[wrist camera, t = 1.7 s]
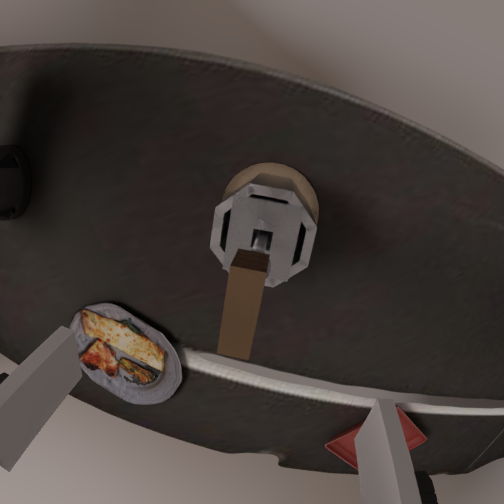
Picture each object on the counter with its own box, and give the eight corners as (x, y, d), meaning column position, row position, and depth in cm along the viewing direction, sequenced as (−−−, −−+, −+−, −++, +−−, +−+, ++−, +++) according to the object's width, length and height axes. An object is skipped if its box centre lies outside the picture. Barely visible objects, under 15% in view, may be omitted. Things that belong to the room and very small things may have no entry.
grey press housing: (214, 253, 50) (187, 295, 36) (229, 154, 45) (203, 159, 31) (305, 271, 49) (310, 320, 35) (327, 173, 44) (344, 186, 30)
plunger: (228, 253, 38) (178, 350, 20) (238, 194, 35) (186, 248, 17) (288, 265, 37) (286, 373, 19) (301, 206, 35) (314, 273, 17)
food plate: (65, 355, 62) (58, 363, 58) (86, 276, 54) (76, 284, 51) (160, 411, 64) (155, 422, 61) (202, 346, 57) (198, 357, 53)
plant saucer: (425, 430, 59) (428, 440, 56) (361, 464, 64) (362, 474, 61) (394, 395, 56) (398, 406, 53) (322, 434, 61) (322, 445, 58)
